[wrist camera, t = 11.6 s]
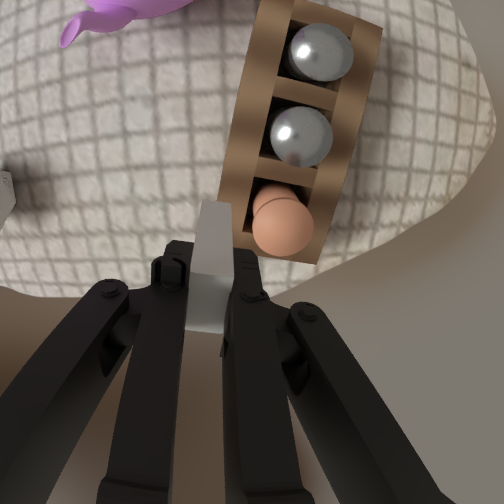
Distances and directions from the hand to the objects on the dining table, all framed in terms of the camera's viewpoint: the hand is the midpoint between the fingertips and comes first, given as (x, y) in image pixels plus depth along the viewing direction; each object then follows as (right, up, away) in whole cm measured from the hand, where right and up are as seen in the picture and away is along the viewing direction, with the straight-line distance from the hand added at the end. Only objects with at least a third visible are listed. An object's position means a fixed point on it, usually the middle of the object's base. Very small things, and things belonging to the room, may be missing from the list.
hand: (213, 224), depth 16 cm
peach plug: (+4, +4, +17) cm, 18 cm away
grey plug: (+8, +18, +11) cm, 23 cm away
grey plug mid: (+6, +12, +14) cm, 19 cm away
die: (-33, +7, +16) cm, 37 cm away
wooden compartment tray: (+6, +12, +15) cm, 20 cm away
